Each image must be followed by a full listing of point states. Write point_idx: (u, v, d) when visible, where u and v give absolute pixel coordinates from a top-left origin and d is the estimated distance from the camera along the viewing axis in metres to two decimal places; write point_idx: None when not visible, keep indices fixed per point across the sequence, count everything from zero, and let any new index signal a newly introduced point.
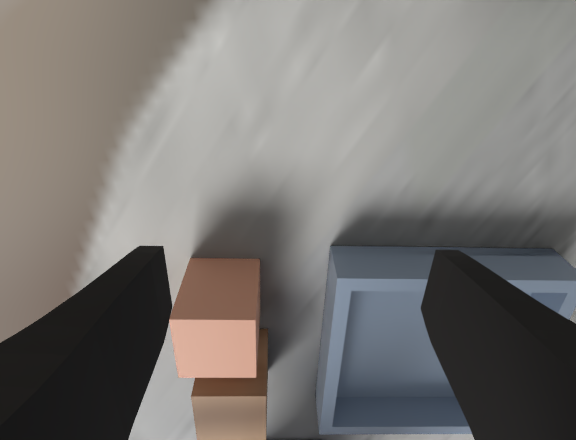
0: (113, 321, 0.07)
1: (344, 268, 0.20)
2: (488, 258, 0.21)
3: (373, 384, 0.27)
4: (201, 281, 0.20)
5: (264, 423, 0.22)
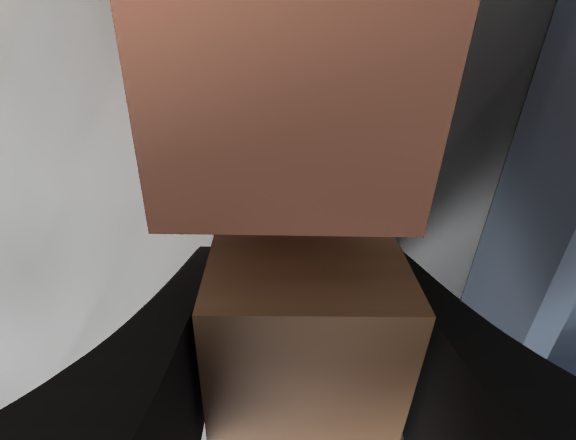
0: None
1: None
2: None
3: None
4: None
5: (405, 408, 0.08)
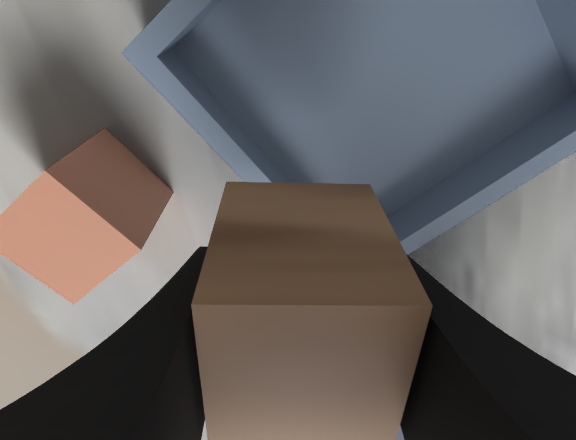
0: None
1: None
2: None
3: (382, 189, 0.18)
4: None
5: (402, 397, 0.08)
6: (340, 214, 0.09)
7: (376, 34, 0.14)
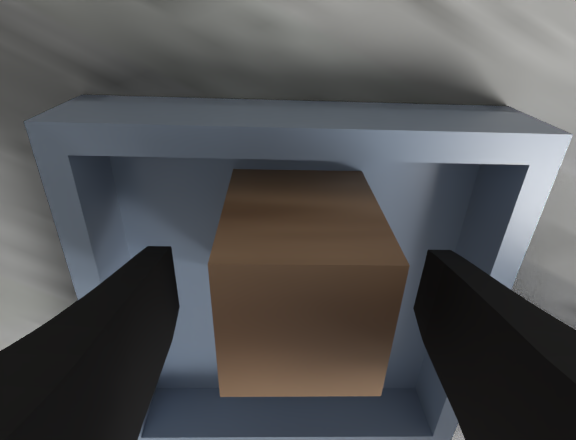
0: (124, 321, 0.07)
1: None
2: None
3: (396, 338, 0.16)
4: None
5: (387, 349, 0.09)
6: (334, 195, 0.10)
7: None
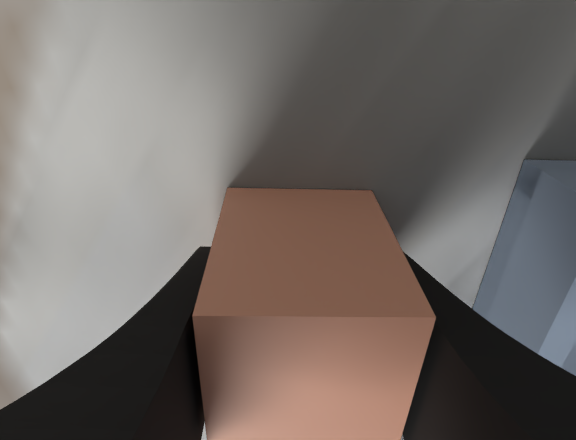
0: None
1: None
2: None
3: None
4: (262, 227, 0.09)
5: None
6: None
7: None
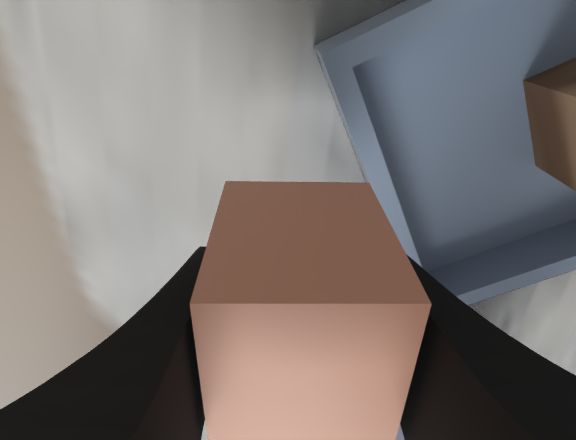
0: None
1: (331, 45, 0.13)
2: None
3: (472, 233, 0.19)
4: (259, 219, 0.09)
5: None
6: None
7: None
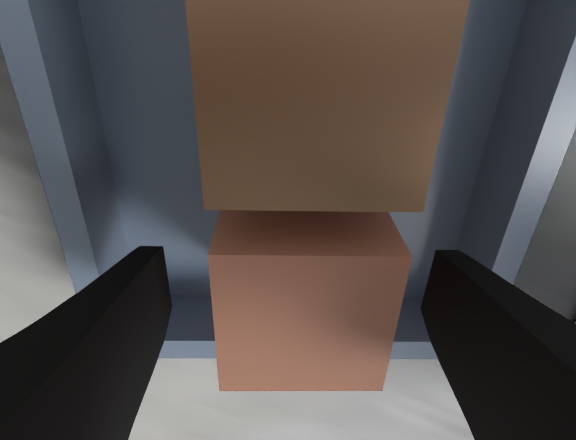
0: (113, 321, 0.07)
1: None
2: None
3: (422, 228, 0.13)
4: None
5: (437, 124, 0.06)
6: None
7: None
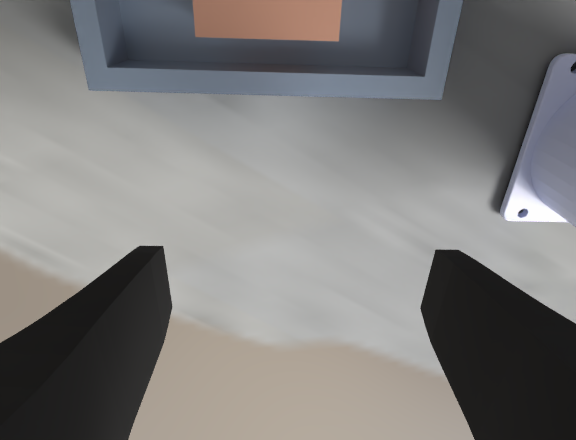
0: (113, 321, 0.07)
1: None
2: None
3: None
4: None
5: None
6: None
7: None
